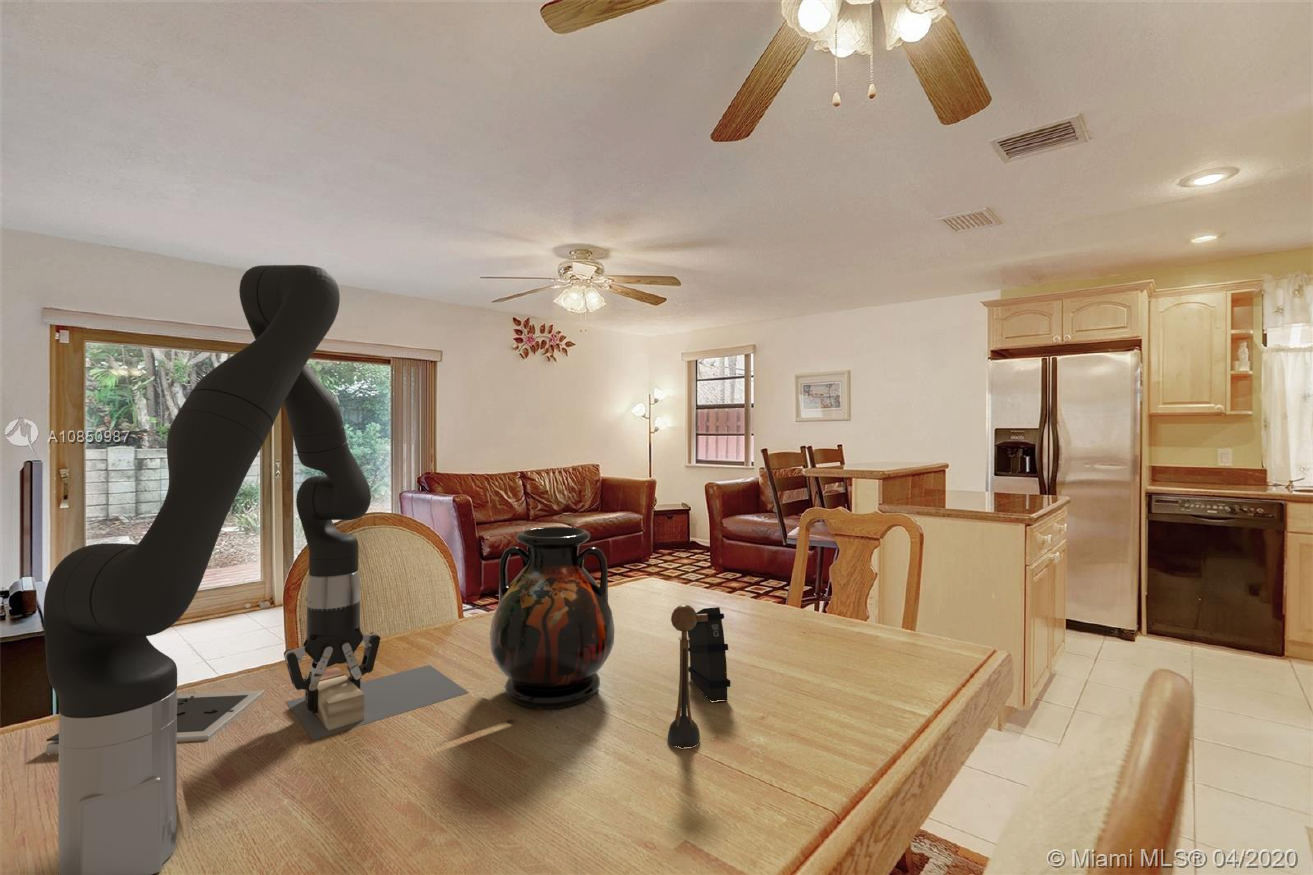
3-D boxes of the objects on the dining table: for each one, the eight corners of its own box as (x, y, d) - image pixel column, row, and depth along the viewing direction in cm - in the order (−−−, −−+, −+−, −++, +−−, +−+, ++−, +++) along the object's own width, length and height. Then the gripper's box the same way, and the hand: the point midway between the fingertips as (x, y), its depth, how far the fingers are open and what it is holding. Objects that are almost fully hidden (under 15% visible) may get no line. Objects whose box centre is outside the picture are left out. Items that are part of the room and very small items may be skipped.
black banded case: (716, 702, 98) (702, 608, 104) (691, 706, 109) (680, 621, 116) (737, 699, 99) (722, 606, 105) (710, 703, 110) (698, 619, 117)
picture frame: (46, 759, 84) (208, 750, 87) (46, 739, 84) (208, 730, 87) (128, 709, 100) (264, 702, 103) (128, 692, 100) (264, 686, 103)
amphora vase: (471, 718, 96) (472, 542, 96) (509, 666, 117) (509, 522, 117) (607, 721, 95) (607, 543, 95) (619, 668, 116) (620, 523, 116)
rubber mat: (469, 697, 103) (469, 692, 103) (312, 745, 87) (312, 739, 87) (429, 669, 116) (429, 664, 116) (285, 706, 100) (285, 701, 100)
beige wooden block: (364, 719, 93) (364, 692, 93) (328, 730, 90) (328, 702, 90) (337, 691, 104) (337, 667, 104) (304, 700, 100) (304, 674, 100)
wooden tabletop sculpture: (702, 731, 92) (703, 599, 92) (710, 746, 87) (711, 608, 87) (664, 734, 91) (665, 601, 91) (670, 750, 86) (671, 610, 86)
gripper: (288, 614, 89) (287, 729, 89) (388, 597, 99) (388, 700, 99) (277, 603, 95) (276, 712, 95) (373, 588, 104) (372, 686, 104)
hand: (333, 705), depth 97 cm, fingers closed on beige wooden block, 5 cm apart
